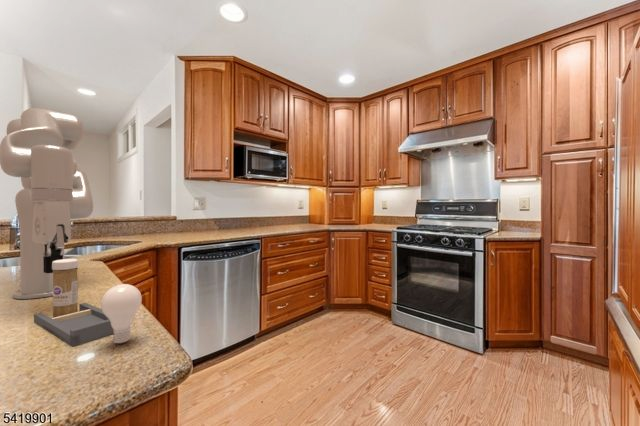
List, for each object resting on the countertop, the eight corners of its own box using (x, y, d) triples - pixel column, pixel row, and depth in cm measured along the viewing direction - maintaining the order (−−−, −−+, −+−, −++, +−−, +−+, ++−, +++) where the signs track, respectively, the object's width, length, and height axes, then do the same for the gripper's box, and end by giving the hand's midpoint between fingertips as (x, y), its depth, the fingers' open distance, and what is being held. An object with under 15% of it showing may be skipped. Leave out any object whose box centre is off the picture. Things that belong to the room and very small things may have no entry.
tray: (33, 321, 65) (33, 309, 65) (85, 309, 73) (85, 298, 73) (72, 346, 53) (72, 331, 53) (128, 328, 61) (128, 315, 61)
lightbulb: (121, 352, 51) (121, 289, 51) (91, 349, 52) (91, 288, 52) (149, 337, 57) (149, 281, 57) (122, 334, 58) (122, 279, 58)
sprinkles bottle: (47, 322, 64) (46, 261, 64) (61, 315, 69) (60, 258, 69) (70, 321, 65) (70, 261, 65) (83, 313, 70) (82, 258, 70)
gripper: (22, 197, 72) (22, 271, 72) (42, 195, 64) (43, 278, 64) (61, 198, 78) (61, 266, 78) (83, 196, 70) (84, 272, 70)
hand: (53, 271), depth 71 cm, fingers closed
